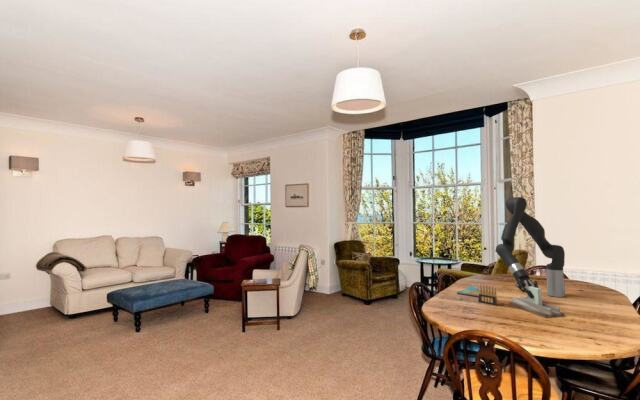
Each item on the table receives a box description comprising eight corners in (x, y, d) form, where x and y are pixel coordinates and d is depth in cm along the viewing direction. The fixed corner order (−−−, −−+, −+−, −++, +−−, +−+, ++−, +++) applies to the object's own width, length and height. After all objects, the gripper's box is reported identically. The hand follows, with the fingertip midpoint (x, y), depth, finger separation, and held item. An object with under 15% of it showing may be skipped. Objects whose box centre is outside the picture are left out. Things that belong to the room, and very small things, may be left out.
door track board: (526, 303, 213) (525, 295, 213) (564, 316, 187) (564, 307, 187) (509, 304, 210) (508, 297, 210) (545, 317, 185) (545, 309, 185)
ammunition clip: (497, 305, 210) (496, 284, 211) (496, 305, 209) (495, 285, 209) (479, 301, 218) (479, 282, 219) (478, 302, 217) (477, 282, 218)
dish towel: (495, 292, 242) (495, 289, 242) (482, 299, 226) (481, 295, 226) (470, 289, 255) (470, 285, 255) (455, 294, 238) (455, 291, 238)
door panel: (531, 305, 203) (530, 286, 204) (542, 308, 195) (541, 288, 196) (527, 305, 203) (526, 286, 203) (538, 309, 195) (537, 289, 195)
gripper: (511, 269, 206) (528, 294, 194) (531, 267, 210) (549, 293, 197) (505, 276, 212) (521, 301, 199) (525, 275, 215) (542, 300, 202)
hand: (535, 297), depth 198 cm, fingers open, 3 cm apart
